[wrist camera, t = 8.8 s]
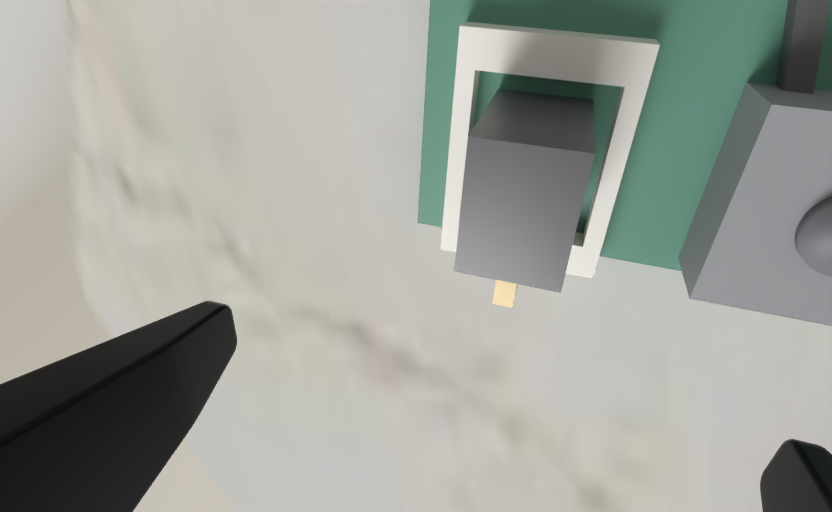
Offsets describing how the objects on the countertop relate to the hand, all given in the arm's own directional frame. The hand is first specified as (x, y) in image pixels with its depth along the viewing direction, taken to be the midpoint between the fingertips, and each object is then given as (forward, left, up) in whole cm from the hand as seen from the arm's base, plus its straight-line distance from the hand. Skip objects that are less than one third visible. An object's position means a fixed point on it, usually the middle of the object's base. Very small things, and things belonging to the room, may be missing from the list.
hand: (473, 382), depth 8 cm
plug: (0, 0, -11) cm, 11 cm away
